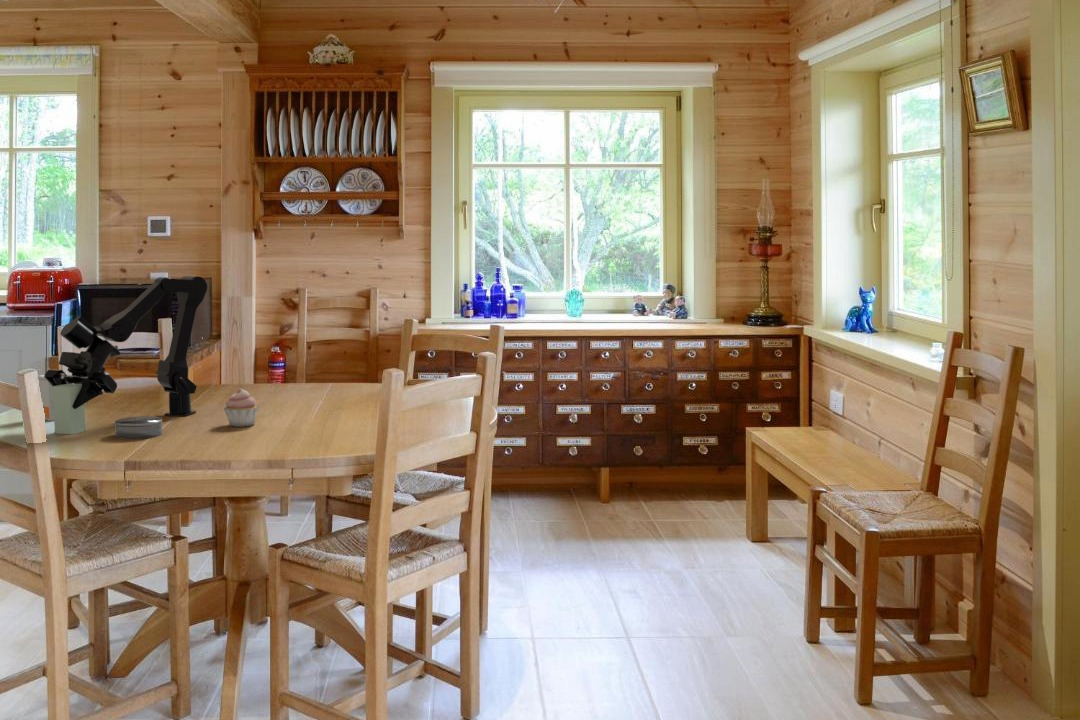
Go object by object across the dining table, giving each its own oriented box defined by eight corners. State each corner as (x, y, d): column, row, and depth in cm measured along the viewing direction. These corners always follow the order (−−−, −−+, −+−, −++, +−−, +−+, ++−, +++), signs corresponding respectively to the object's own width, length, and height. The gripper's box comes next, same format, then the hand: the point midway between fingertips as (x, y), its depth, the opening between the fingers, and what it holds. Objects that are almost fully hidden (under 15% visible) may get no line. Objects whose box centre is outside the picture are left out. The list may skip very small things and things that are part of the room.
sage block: (69, 429, 261) (67, 383, 260) (85, 430, 260) (83, 384, 258) (54, 433, 256) (52, 386, 255) (71, 434, 255) (68, 387, 253)
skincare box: (39, 418, 276) (37, 375, 275) (54, 416, 280) (52, 373, 278) (50, 421, 273) (48, 377, 271) (65, 419, 276) (63, 375, 275)
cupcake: (221, 423, 272) (220, 386, 271) (256, 421, 276) (256, 384, 275) (225, 429, 264) (224, 391, 263) (262, 427, 267) (261, 389, 266)
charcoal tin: (130, 430, 261) (130, 415, 261) (171, 432, 260) (170, 417, 259) (105, 439, 250) (105, 423, 250) (147, 440, 249) (147, 424, 248)
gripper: (47, 338, 262) (16, 386, 252) (107, 341, 256) (78, 390, 247) (71, 365, 270) (41, 412, 261) (129, 368, 265) (101, 416, 256)
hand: (65, 407), depth 256 cm, fingers closed on sage block, 5 cm apart
